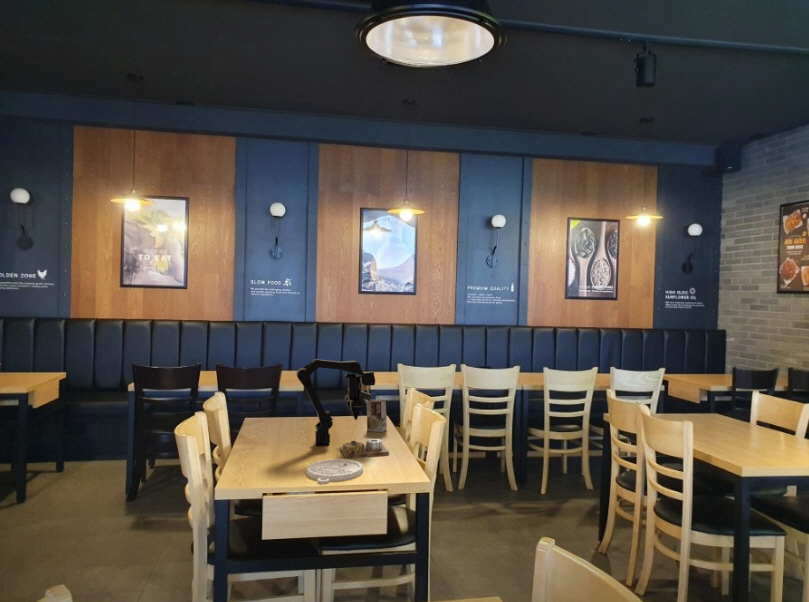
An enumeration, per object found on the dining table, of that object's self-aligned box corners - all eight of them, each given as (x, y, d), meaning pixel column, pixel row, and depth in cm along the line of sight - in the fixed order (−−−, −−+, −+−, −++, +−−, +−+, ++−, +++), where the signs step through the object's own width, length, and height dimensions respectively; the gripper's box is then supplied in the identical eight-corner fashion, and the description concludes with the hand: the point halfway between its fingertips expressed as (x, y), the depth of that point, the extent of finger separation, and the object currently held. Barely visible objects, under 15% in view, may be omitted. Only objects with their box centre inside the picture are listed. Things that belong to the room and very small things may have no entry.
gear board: (345, 458, 254) (345, 446, 254) (340, 450, 268) (340, 438, 268) (388, 454, 260) (388, 442, 260) (381, 446, 273) (381, 435, 273)
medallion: (370, 465, 245) (370, 460, 245) (350, 486, 218) (350, 480, 218) (318, 462, 250) (318, 457, 250) (293, 482, 224) (293, 476, 224)
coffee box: (387, 429, 307) (387, 400, 307) (381, 432, 302) (381, 402, 301) (372, 428, 311) (372, 398, 311) (366, 430, 305) (366, 400, 305)
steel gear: (368, 451, 261) (367, 443, 261) (364, 446, 268) (364, 439, 268) (383, 449, 263) (383, 442, 263) (379, 445, 270) (379, 438, 270)
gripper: (374, 388, 276) (374, 420, 276) (366, 382, 294) (366, 412, 294) (351, 389, 273) (351, 422, 273) (344, 383, 291) (344, 414, 291)
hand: (354, 417), depth 283 cm, fingers open, 9 cm apart
